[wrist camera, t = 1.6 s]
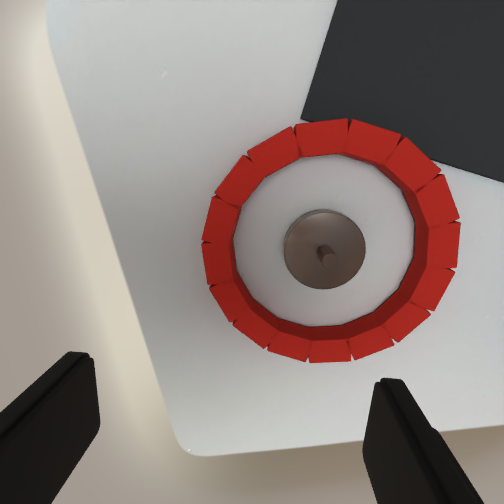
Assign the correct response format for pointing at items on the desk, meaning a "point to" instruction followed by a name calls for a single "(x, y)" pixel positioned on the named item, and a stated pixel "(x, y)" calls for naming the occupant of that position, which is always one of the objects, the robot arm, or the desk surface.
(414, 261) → the ring
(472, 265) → the desk surface
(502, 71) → the mat
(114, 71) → the desk surface
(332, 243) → the ring holder
